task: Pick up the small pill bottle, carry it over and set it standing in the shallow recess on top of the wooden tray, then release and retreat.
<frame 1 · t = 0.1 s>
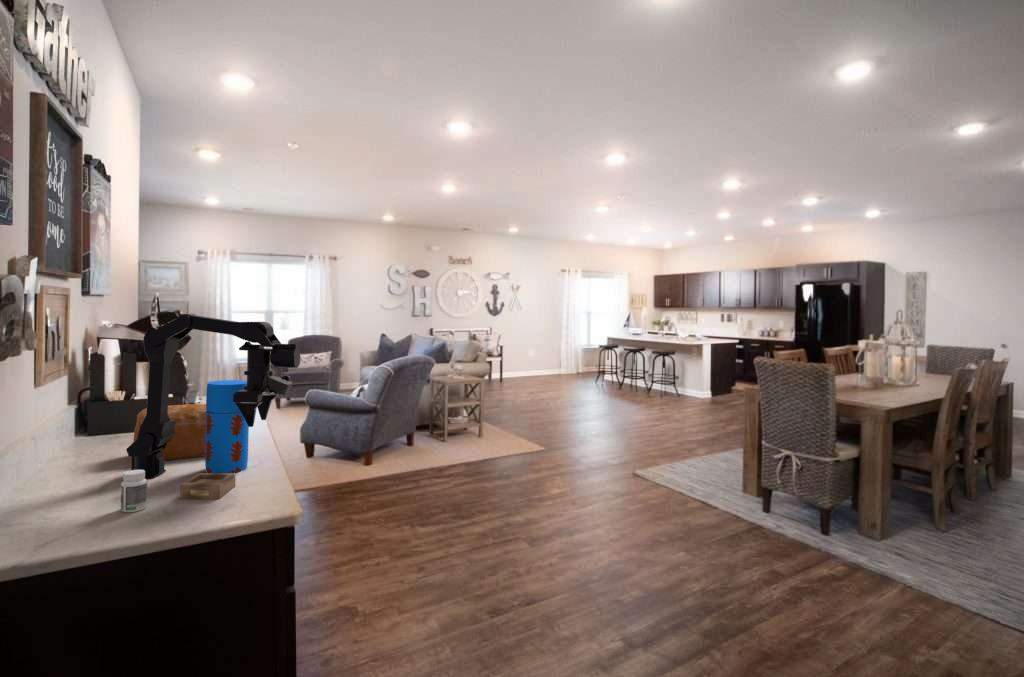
hand: (257, 423, 142), 15 cm above the worktop, fingers open, 9 cm apart
pill bottle: (133, 510, 116), on the worktop
thermos: (226, 469, 147), on the worktop
bread: (184, 455, 161), on the worktop
wooden tray: (208, 492, 128), on the worktop
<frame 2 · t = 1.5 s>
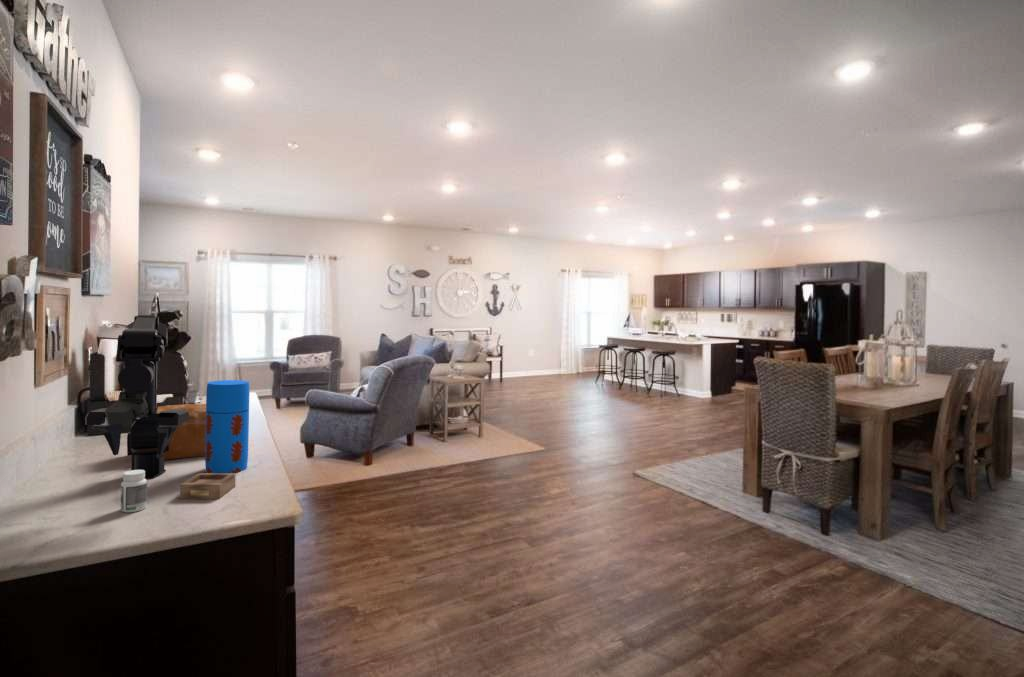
hand: (138, 454, 116), 12 cm above the worktop, fingers open, 9 cm apart
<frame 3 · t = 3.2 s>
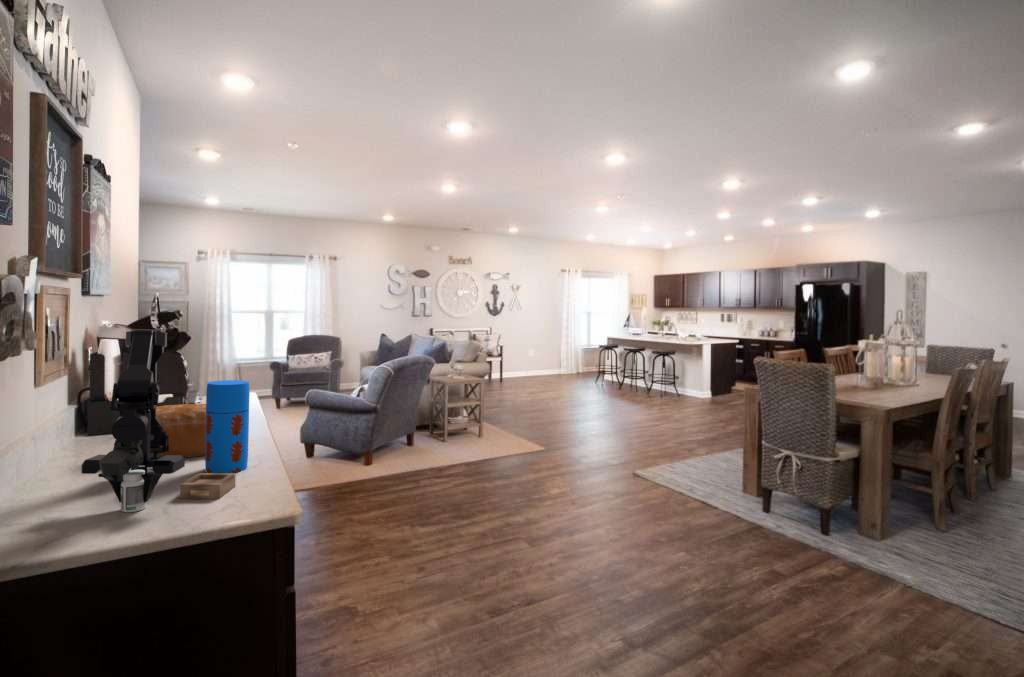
hand: (133, 501, 116), 2 cm above the worktop, fingers closed on pill bottle, 5 cm apart
pill bottle: (133, 509, 116), on the worktop, touching gripper
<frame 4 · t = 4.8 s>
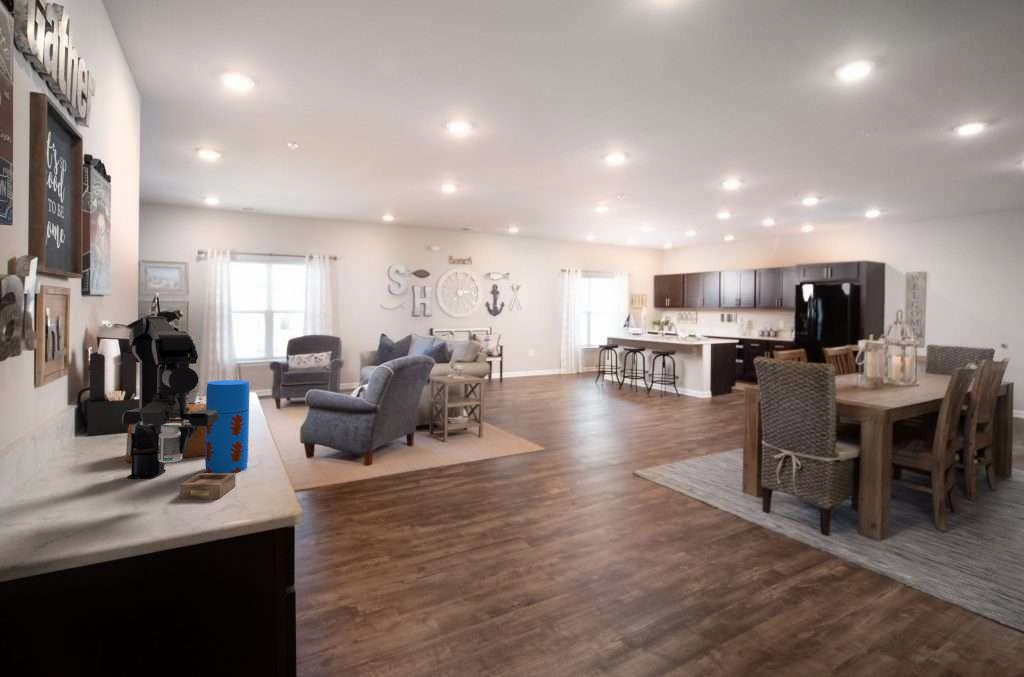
hand: (170, 453, 121), 11 cm above the worktop, fingers closed on pill bottle, 5 cm apart
pill bottle: (170, 461, 121), point 10 cm above the worktop, touching gripper
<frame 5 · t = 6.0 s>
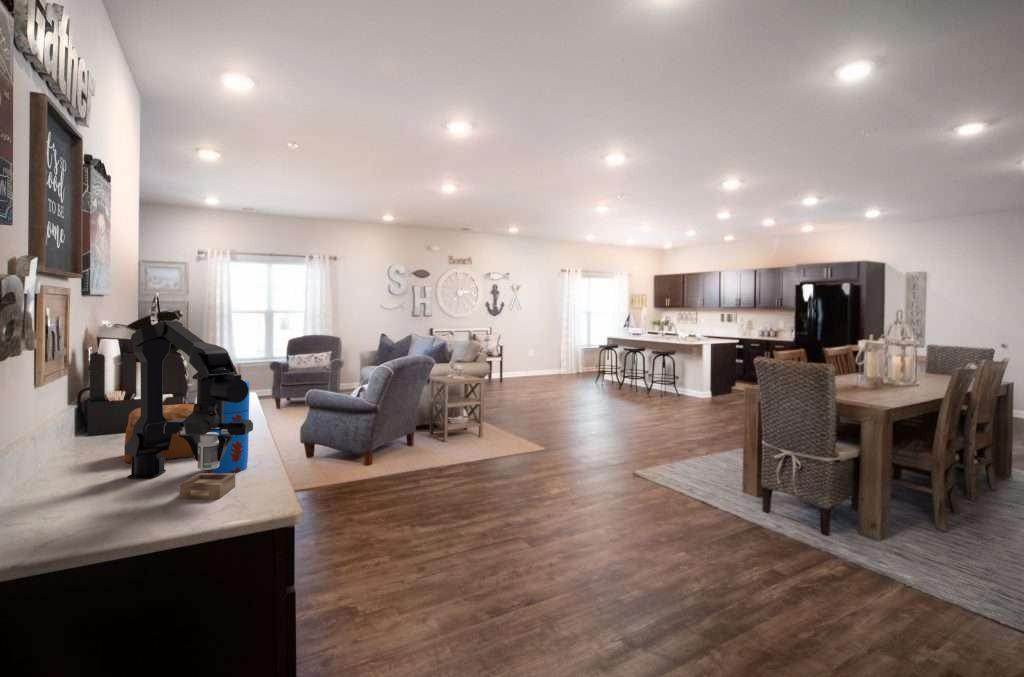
hand: (208, 460, 128), 8 cm above the worktop, fingers closed on pill bottle, 5 cm apart
pill bottle: (208, 468, 128), point 6 cm above the worktop, touching gripper
when the fingers open (5 cm above the worktop, at t = 6.8 s): pill bottle drops 1 cm, resting on wooden tray.
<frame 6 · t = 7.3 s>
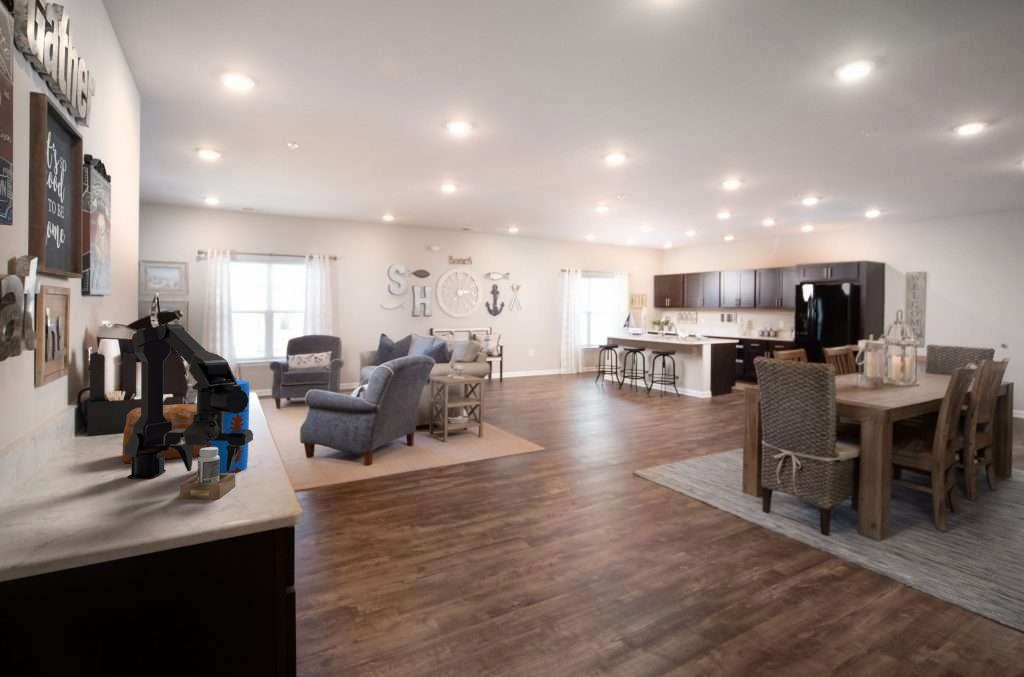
hand: (208, 471, 128), 5 cm above the worktop, fingers open, 9 cm apart
pill bottle: (208, 483, 128), point 2 cm above the worktop, touching wooden tray
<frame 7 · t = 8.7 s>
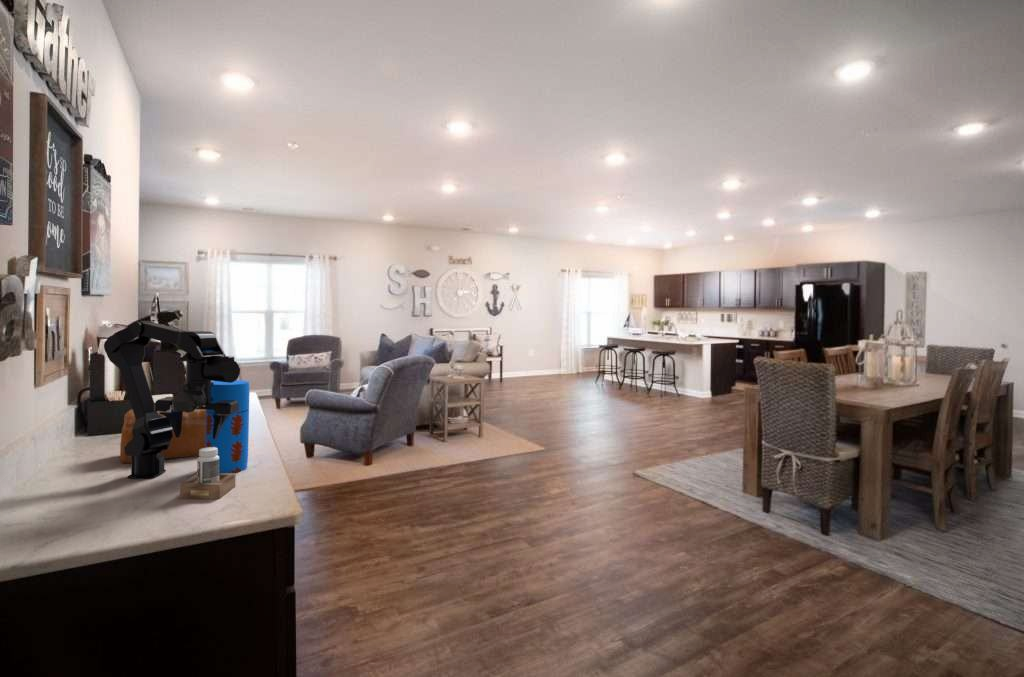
hand: (196, 438, 135), 12 cm above the worktop, fingers open, 9 cm apart
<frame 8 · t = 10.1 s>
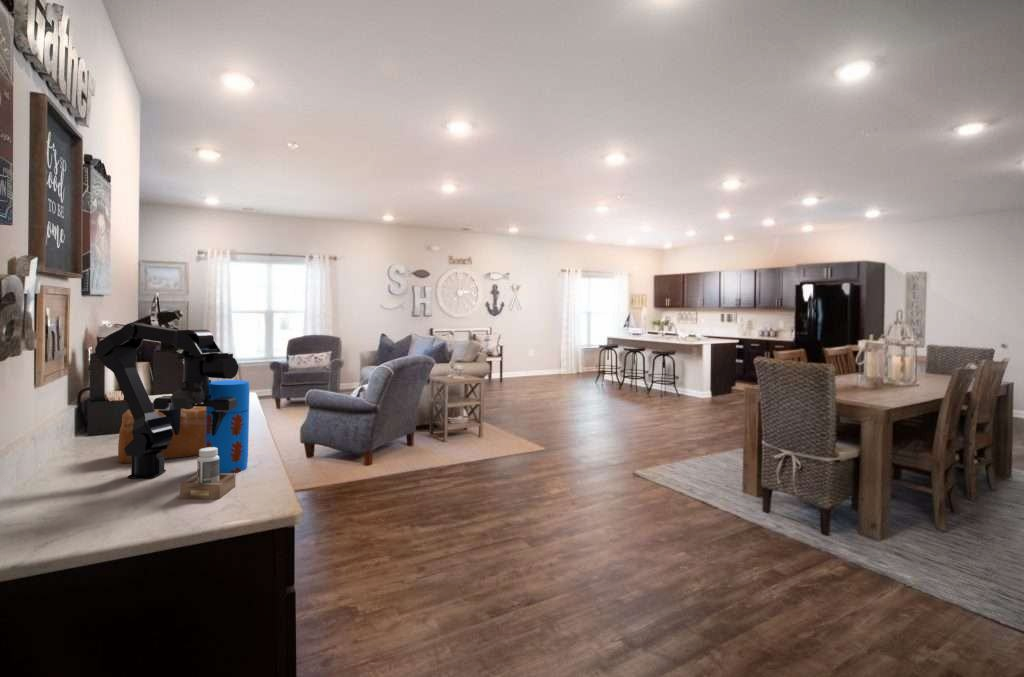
hand: (195, 435, 136), 12 cm above the worktop, fingers open, 9 cm apart
at the end: pill bottle 0.1 cm off-centre on the wooden tray, point 2.3 cm above the wooden tray's base; pill bottle tilted 0°; the gripper is holding nothing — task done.
